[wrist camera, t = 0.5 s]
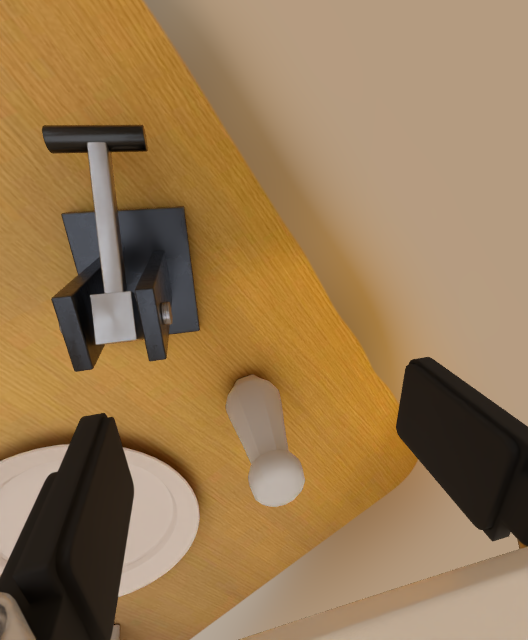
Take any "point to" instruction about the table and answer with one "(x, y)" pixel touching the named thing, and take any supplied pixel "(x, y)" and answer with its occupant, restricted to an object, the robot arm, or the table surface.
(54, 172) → the table surface
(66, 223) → the bracket
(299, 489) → the salt shaker
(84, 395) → the table surface
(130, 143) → the lever
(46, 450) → the plate
